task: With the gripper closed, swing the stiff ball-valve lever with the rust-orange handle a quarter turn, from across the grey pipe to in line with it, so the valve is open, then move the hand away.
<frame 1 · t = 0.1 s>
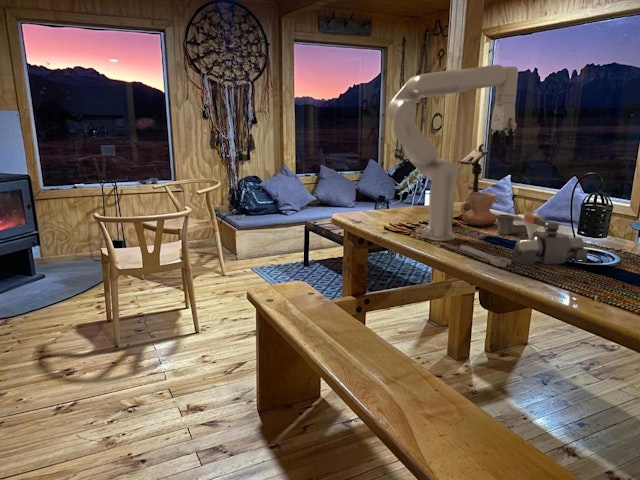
hand: (501, 145, 191), 37 cm above the table, tool pointing down, fingers open, 9 cm apart
lever: (540, 222, 168), point 12 cm above the table, hinge at 90.0°
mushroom: (529, 242, 189), on the table
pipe: (510, 234, 202), on the table
bird statue: (470, 213, 245), on the table
ceramic jug: (477, 225, 219), on the table
adjustable wrench: (485, 257, 171), on the table
valve body: (547, 260, 165), on the table
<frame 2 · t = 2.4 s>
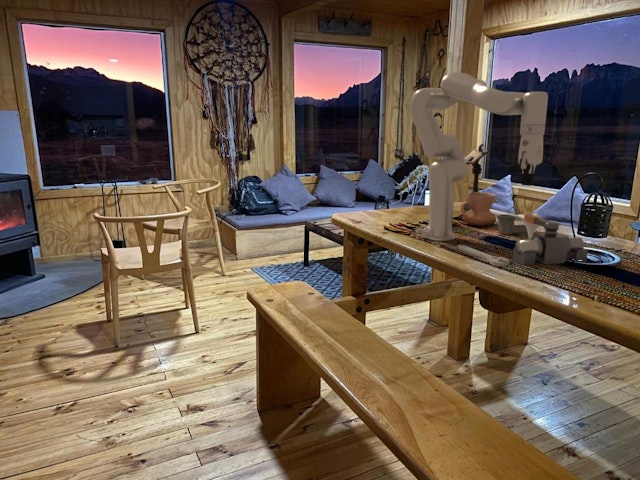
hand: (527, 185, 165), 25 cm above the table, tool pointing down, fingers closed
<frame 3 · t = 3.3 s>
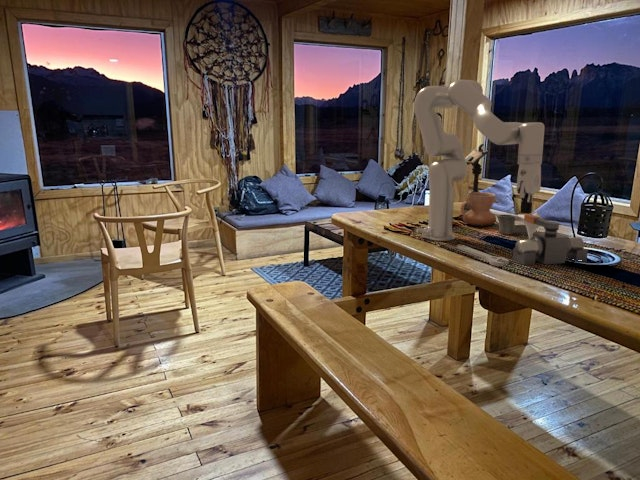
hand: (525, 213, 167), 15 cm above the table, tool pointing down, fingers closed
nothing on the table moved.
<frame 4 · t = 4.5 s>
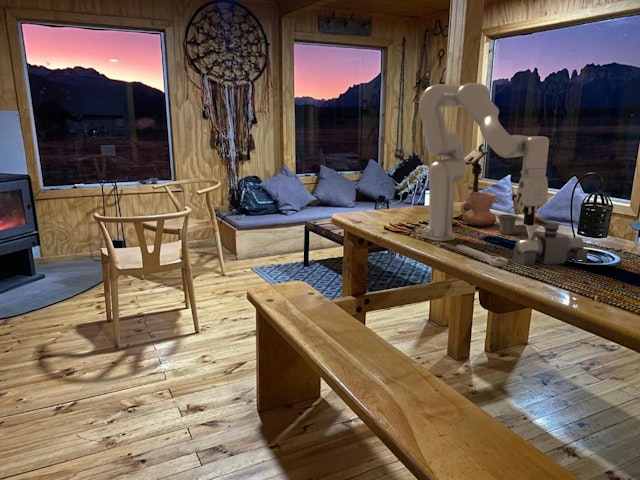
hand: (528, 224, 171), 11 cm above the table, tool pointing down, fingers closed
lever: (541, 222, 168), point 12 cm above the table, hinge at 87.2°, touching gripper
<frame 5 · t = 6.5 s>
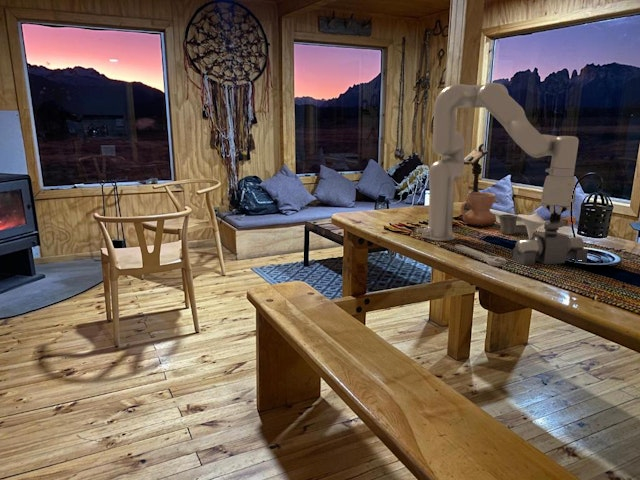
hand: (554, 224, 170), 11 cm above the table, tool pointing down, fingers closed
lever: (560, 223, 166), point 12 cm above the table, hinge at 29.1°, touching gripper
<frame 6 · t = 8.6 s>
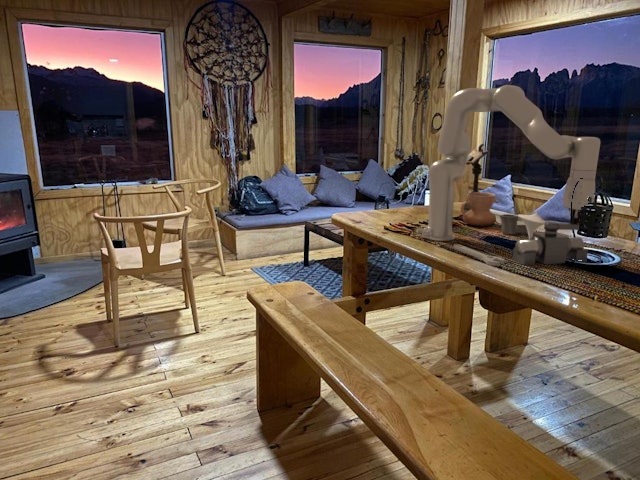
hand: (574, 228, 164), 11 cm above the table, tool pointing down, fingers closed
lever: (571, 226, 161), point 12 cm above the table, hinge at -16.8°, touching gripper
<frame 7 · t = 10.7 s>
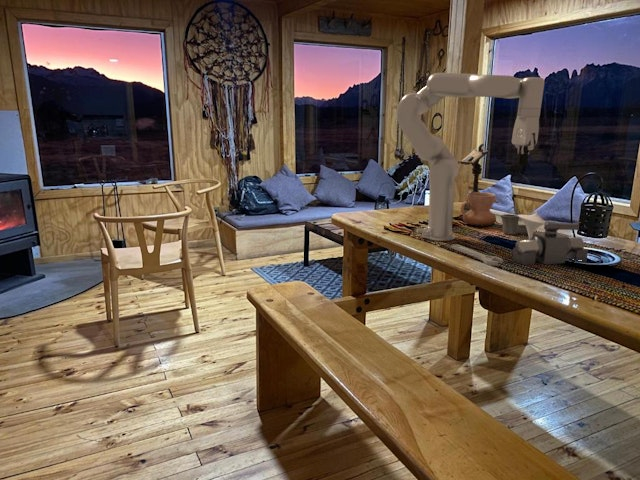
hand: (521, 164, 178), 31 cm above the table, tool pointing down, fingers closed
lever: (571, 226, 161), point 12 cm above the table, hinge at -17.0°
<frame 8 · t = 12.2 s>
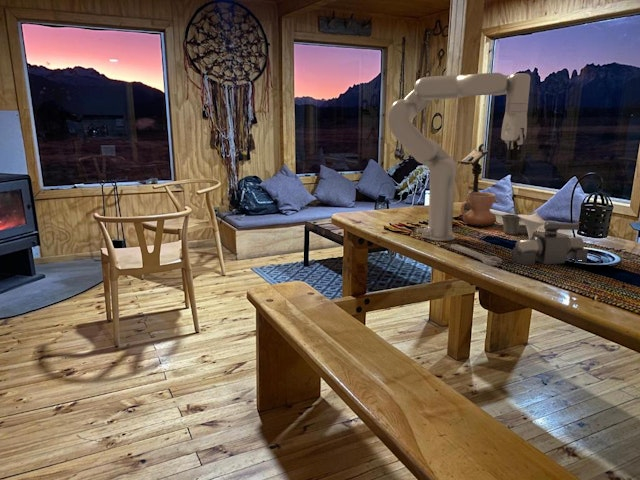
hand: (512, 159, 181), 32 cm above the table, tool pointing down, fingers closed
at the end: lever at -17° (first picture: +90°); lever touching nothing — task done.
